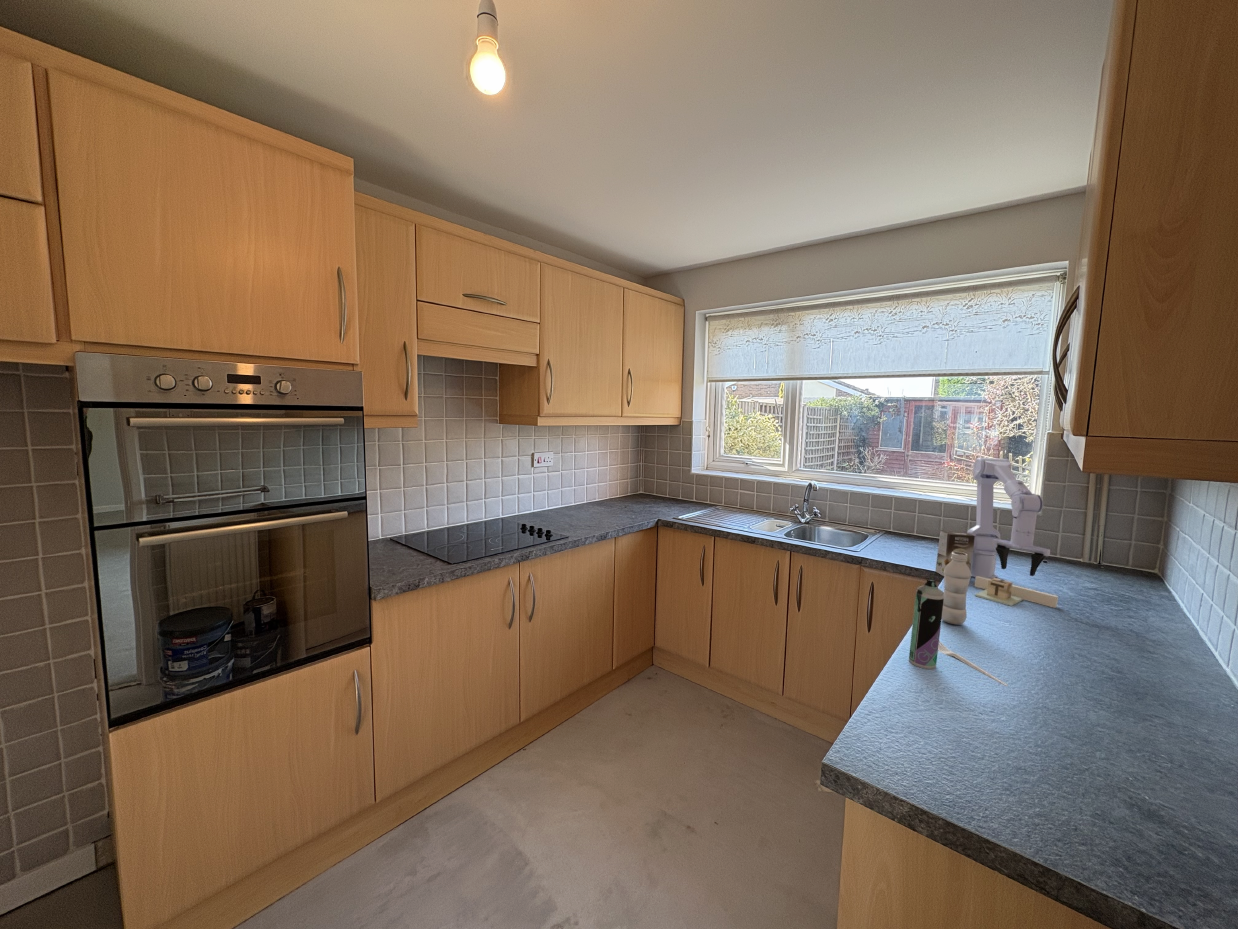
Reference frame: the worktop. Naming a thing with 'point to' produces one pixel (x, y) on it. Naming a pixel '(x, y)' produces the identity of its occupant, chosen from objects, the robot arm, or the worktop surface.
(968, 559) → the coffee box
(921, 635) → the spray can
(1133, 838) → the worktop surface
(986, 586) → the cream board
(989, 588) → the lettered cube
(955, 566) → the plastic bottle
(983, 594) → the pad
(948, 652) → the fork
